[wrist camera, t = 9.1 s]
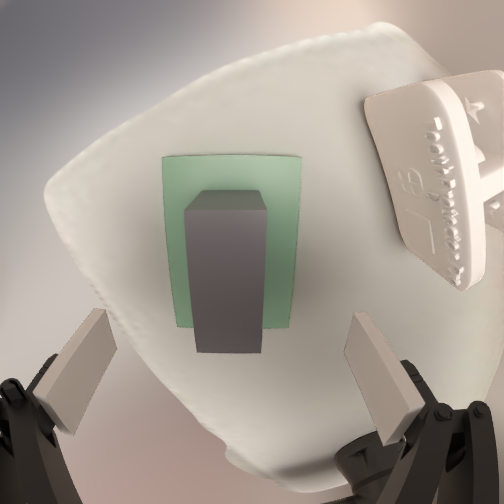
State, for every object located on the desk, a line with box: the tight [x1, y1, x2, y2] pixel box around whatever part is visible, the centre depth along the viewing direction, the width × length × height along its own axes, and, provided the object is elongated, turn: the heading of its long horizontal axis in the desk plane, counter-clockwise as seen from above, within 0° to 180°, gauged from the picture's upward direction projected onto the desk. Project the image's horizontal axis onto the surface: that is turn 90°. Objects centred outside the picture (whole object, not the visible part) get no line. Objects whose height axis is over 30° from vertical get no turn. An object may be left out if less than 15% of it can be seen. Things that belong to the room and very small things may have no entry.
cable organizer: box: [364, 70, 504, 291], centre depth 17 cm, size 15×11×12 cm
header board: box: [162, 155, 302, 329], centre depth 22 cm, size 16×11×6 cm
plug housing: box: [184, 190, 267, 353], centre depth 20 cm, size 10×4×7 cm, turn 179°
